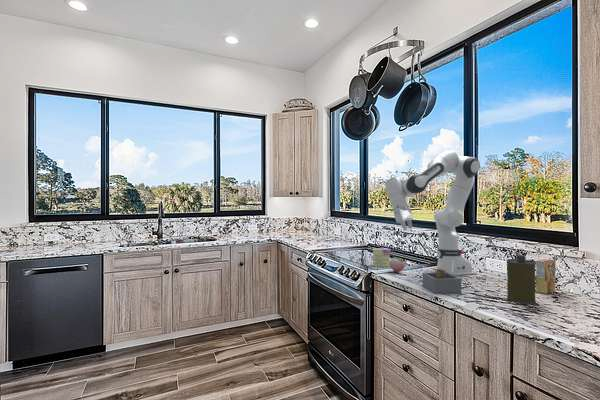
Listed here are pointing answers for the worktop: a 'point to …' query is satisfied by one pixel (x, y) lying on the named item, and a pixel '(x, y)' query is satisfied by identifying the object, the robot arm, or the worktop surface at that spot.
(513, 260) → the canister
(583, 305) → the worktop surface
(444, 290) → the socket box
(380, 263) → the box
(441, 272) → the walnut peg
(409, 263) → the fork
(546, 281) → the candy box
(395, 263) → the decorative fruit
